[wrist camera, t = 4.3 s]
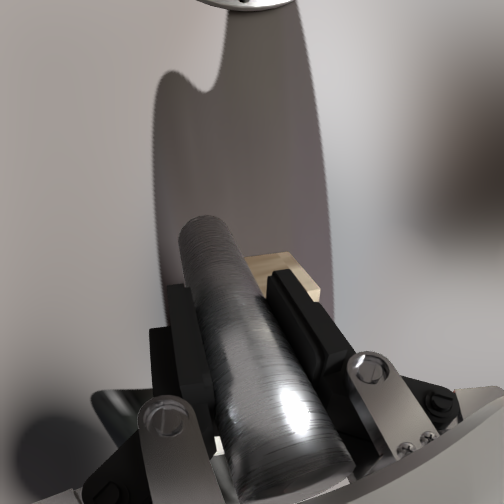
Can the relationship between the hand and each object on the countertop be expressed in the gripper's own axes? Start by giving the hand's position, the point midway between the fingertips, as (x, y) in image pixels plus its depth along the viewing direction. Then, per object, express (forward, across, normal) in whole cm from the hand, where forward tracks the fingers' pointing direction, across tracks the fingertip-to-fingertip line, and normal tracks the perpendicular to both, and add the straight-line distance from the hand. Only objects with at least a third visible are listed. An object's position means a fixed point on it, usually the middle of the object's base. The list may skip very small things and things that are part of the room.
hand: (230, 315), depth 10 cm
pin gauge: (+6, 0, 0) cm, 6 cm away
